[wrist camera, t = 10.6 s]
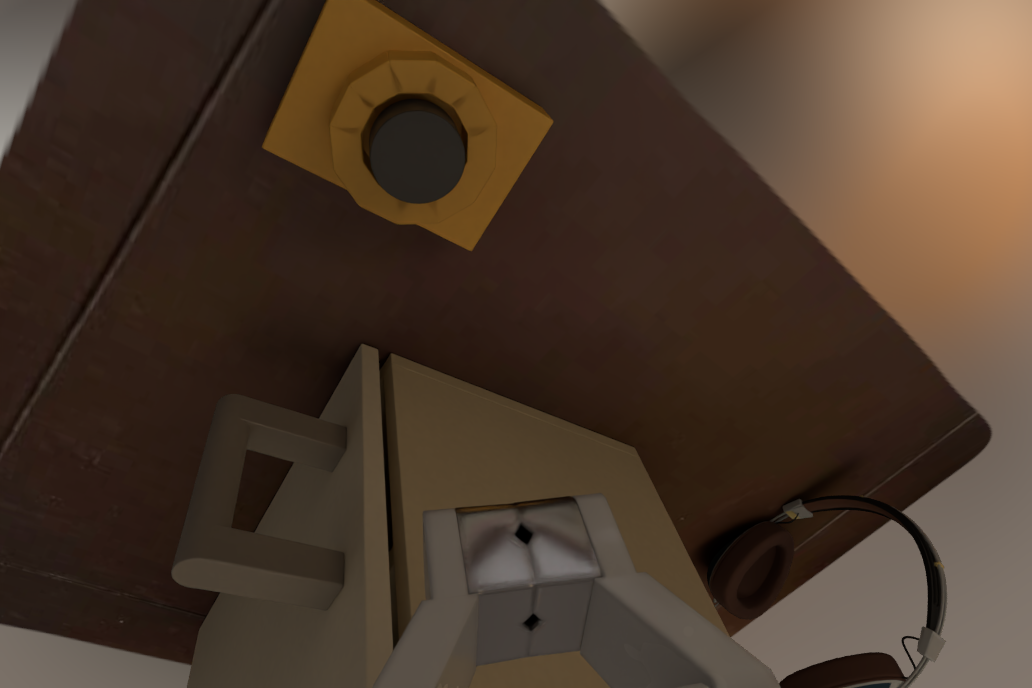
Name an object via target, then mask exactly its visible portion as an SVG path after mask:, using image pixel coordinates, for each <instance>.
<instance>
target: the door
mask: <svg viewBox="0 0 1032 688" xmlns="http://www.w3.org/2000/svg"><path fill="white" fill-rule="evenodd" d="M246 449H248V450H251V451H255V452H259V453H262V454H266V455H270V456H273V457H277V458H281V459H285V460H288V461H292V462H294V463H293V465H292V467H291V469H290V470H289V472H288V474H287V476H286V478H285V479H284V481H283V483H282V485H281V486H280V488H279V490H278V492H277V493H276V495H275V497H274V499H273V500H272V502H271V504H270V506H269V507H268V509H267V511H266V513H265V515H264V516H263V518H262V520H261V522H260V523H259V525H258V527H257V529H256V530H255V532H254V533H253V532H248V531H244V530H239V529H235V528H231V526H232V521H233V516H234V511H235V506H236V501H237V496H238V490H239V485H240V480H241V475H242V470H243V465H244V460H245V455H246ZM171 574H172V577H173V579H174V580H175V581H176V582H177V583H178V584H180V585H182V586H185V587H189V588H198V589H203V590H209V591H215V592H220V594H219V596H218V597H217V599H216V601H215V603H214V604H213V606H212V608H211V610H210V611H209V613H208V615H207V617H206V619H205V620H204V622H203V624H202V626H201V627H200V629H199V633H198V637H197V642H196V647H195V652H194V656H193V661H192V666H191V671H190V676H189V680H188V685H187V688H372V687H373V685H374V683H375V681H376V680H377V678H378V676H379V674H380V673H381V671H382V669H383V667H384V666H385V664H386V662H387V660H388V659H389V657H390V655H391V653H392V652H393V634H392V614H391V594H390V575H389V555H388V535H387V515H386V495H385V475H384V455H383V435H382V415H381V395H380V375H379V355H378V349H375V348H373V347H370V346H367V345H365V344H361V345H360V347H359V349H358V351H357V352H356V354H355V356H354V358H353V359H352V361H351V363H350V365H349V366H348V368H347V370H346V372H345V374H344V375H343V377H342V379H341V381H340V382H339V384H338V386H337V388H336V389H335V391H334V393H333V395H332V396H331V398H330V400H329V402H328V404H327V405H326V407H325V409H324V411H323V412H322V414H321V416H320V418H319V419H318V418H315V417H311V416H308V415H305V414H302V413H298V412H295V411H292V410H289V409H285V408H282V407H279V406H276V405H272V404H269V403H266V402H262V401H259V400H256V399H253V398H249V397H246V396H243V395H239V394H229V395H226V396H224V397H222V398H221V399H220V400H219V401H218V402H217V404H216V408H215V412H214V415H213V419H212V423H211V426H210V430H209V434H208V438H207V441H206V445H205V449H204V452H203V456H202V460H201V463H200V467H199V471H198V475H197V478H196V482H195V486H194V489H193V493H192V497H191V500H190V504H189V508H188V511H187V515H186V519H185V523H184V526H183V530H182V534H181V537H180V541H179V545H178V548H177V552H176V556H175V559H174V563H173V567H172V571H171Z"/></svg>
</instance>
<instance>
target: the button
mask: <svg viewBox="0 0 1032 688" xmlns="http://www.w3.org/2000/svg"><path fill="white" fill-rule="evenodd" d="M369 154H370V164H371V169H372V172H373V174H374V177H375V178H376V180H377V182H378V183H379V185H380V186H381V187H382V188H383V189H384V190H385V191H386V192H387V193H388V194H390V195H391V196H393V197H394V198H396V199H398V200H401V201H404V202H407V203H413V204H423V203H429V202H433V201H436V200H438V199H440V198H442V197H444V196H445V195H447V194H448V193H449V192H450V191H452V190H453V188H454V187H455V186H456V185H457V183H458V182H459V180H460V178H461V176H462V174H463V171H464V167H465V149H464V145H463V142H462V139H461V137H460V134H459V132H458V130H457V127H456V125H455V123H454V122H453V120H452V118H451V117H450V116H449V115H448V114H447V112H445V111H444V110H443V109H442V108H441V107H439V106H438V105H436V104H434V103H432V102H429V101H426V100H422V99H405V100H401V101H398V102H395V103H393V104H391V105H389V106H388V107H387V108H385V109H384V110H383V111H382V112H381V113H380V114H379V115H378V117H377V118H376V120H375V121H374V123H373V126H372V128H371V131H370V136H369Z"/></svg>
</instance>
